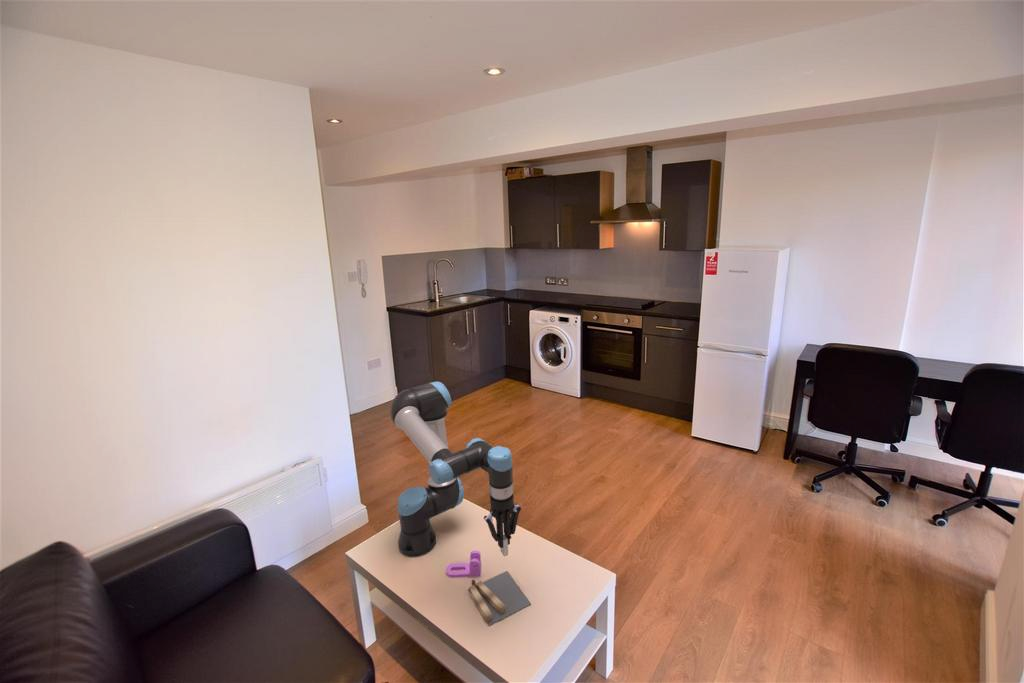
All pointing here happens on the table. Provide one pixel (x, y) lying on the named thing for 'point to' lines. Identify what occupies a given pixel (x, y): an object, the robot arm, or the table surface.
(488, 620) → the tongs base
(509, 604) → the mat
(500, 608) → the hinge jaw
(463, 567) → the bracket
